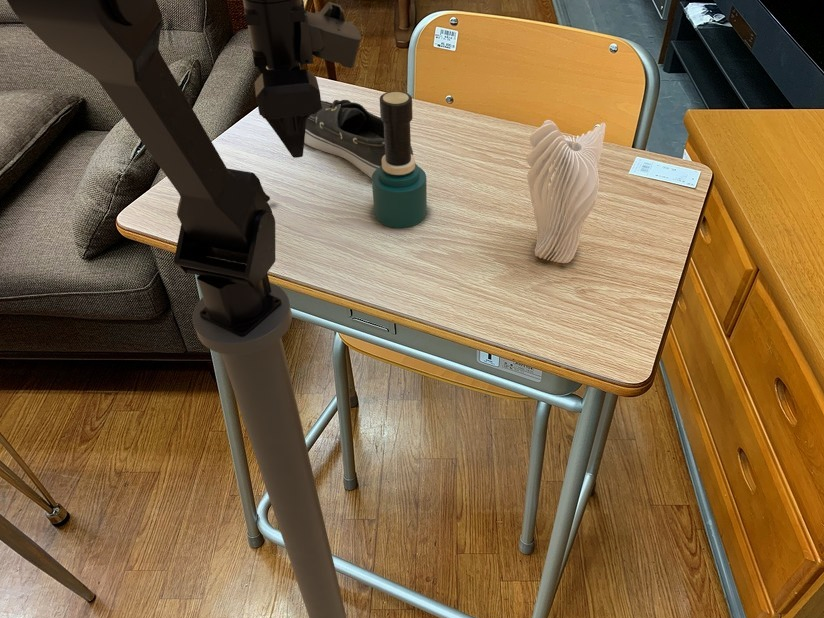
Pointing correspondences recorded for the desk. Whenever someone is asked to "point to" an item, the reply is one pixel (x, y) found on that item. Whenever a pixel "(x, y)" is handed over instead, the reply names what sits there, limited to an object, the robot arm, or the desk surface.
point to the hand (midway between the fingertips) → (294, 137)
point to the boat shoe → (348, 134)
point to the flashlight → (396, 126)
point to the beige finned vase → (563, 187)
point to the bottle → (399, 194)
